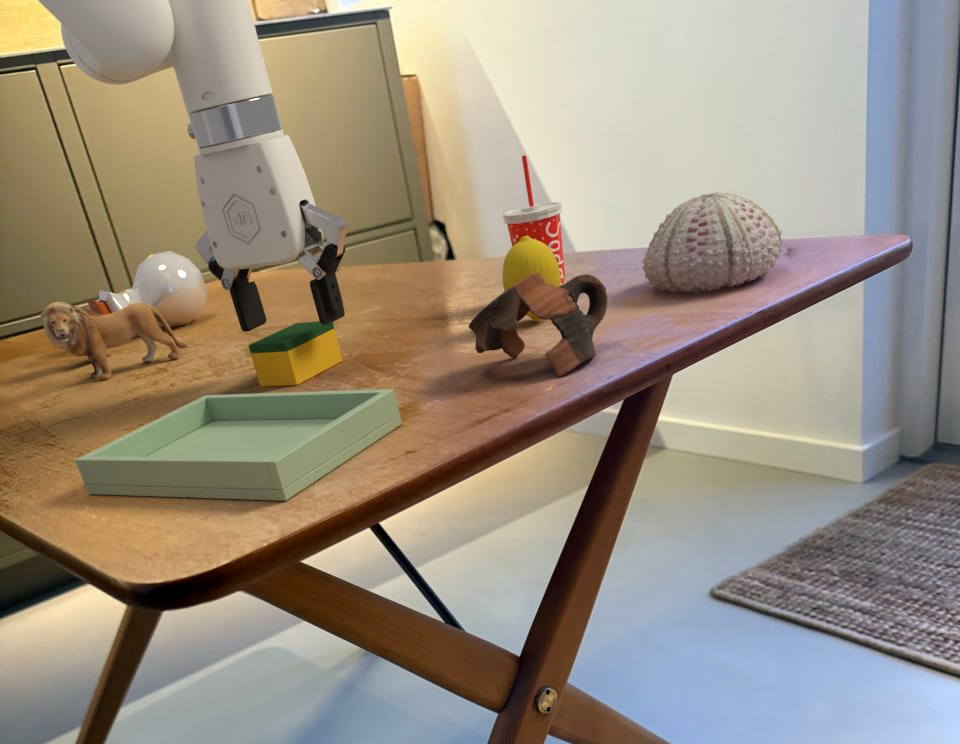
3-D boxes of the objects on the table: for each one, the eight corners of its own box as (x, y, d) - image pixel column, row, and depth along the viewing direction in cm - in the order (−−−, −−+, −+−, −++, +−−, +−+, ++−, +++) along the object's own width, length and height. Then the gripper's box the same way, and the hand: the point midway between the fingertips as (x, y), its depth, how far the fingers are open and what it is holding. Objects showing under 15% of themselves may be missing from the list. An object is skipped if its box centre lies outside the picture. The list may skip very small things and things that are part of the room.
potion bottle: (225, 323, 141) (126, 368, 136) (187, 280, 144) (89, 322, 139) (217, 270, 133) (111, 316, 128) (177, 225, 136) (73, 268, 131)
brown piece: (538, 395, 80) (476, 306, 79) (502, 424, 89) (447, 344, 88) (650, 315, 83) (592, 228, 82) (604, 351, 92) (552, 273, 91)
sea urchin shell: (736, 299, 93) (730, 206, 89) (617, 300, 102) (607, 214, 99) (809, 263, 101) (806, 175, 97) (691, 266, 110) (685, 186, 106)
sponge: (260, 386, 98) (247, 345, 97) (306, 362, 104) (296, 322, 102) (297, 385, 96) (285, 342, 94) (342, 360, 102) (332, 320, 100)
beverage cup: (537, 307, 106) (514, 161, 100) (506, 303, 111) (482, 163, 105) (585, 292, 109) (566, 147, 102) (553, 288, 113) (533, 150, 107)
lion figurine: (73, 392, 113) (41, 309, 108) (61, 386, 117) (29, 306, 112) (197, 353, 119) (171, 273, 115) (180, 349, 123) (155, 271, 119)
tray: (88, 494, 78) (74, 459, 77) (215, 426, 89) (205, 395, 87) (286, 501, 68) (274, 461, 67) (402, 424, 79) (394, 388, 77)
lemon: (536, 313, 104) (523, 230, 100) (577, 314, 100) (566, 227, 96) (498, 329, 101) (484, 244, 97) (539, 330, 97) (526, 242, 93)
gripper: (138, 150, 91) (201, 341, 100) (287, 117, 83) (342, 330, 91) (194, 136, 97) (250, 319, 105) (340, 104, 88) (388, 306, 96)
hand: (293, 324), depth 98 cm, fingers open, 9 cm apart
